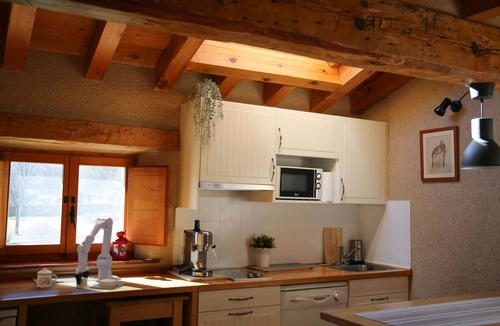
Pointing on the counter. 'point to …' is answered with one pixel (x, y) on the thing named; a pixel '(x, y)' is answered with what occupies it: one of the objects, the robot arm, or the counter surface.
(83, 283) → the sage cube
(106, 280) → the stacking base
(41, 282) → the teacup with lid
